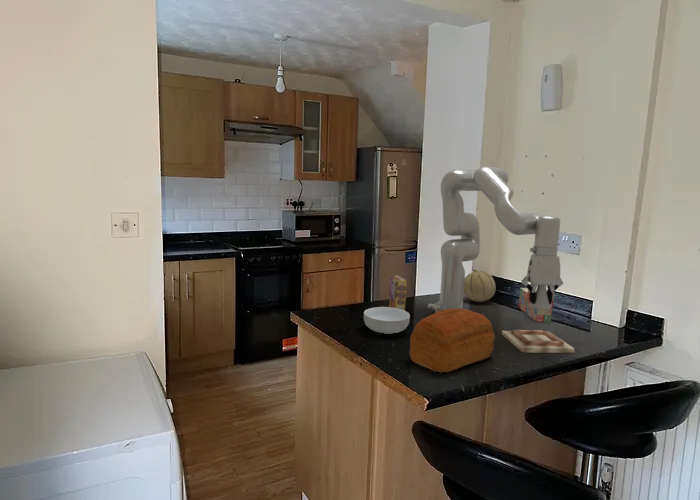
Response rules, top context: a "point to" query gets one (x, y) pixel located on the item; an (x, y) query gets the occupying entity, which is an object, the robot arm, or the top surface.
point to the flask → (541, 299)
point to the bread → (451, 340)
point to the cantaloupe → (479, 286)
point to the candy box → (398, 292)
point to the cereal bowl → (386, 319)
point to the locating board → (537, 341)
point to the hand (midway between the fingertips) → (540, 302)
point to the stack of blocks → (533, 313)
